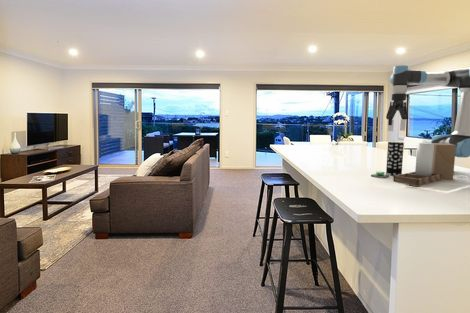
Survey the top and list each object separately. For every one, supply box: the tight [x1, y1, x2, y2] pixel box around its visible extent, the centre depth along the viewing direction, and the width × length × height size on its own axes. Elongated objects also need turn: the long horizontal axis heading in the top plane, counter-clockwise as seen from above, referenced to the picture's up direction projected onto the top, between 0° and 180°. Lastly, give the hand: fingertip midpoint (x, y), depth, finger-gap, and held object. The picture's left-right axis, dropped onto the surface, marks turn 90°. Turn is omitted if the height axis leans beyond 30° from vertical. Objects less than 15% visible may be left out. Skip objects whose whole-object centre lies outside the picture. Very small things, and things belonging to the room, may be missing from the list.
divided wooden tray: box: [392, 171, 442, 188], centre depth 189 cm, size 26×13×4 cm, turn 127°
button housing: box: [370, 173, 390, 179], centre depth 199 cm, size 7×7×2 cm
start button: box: [375, 170, 386, 175], centre depth 199 cm, size 4×4×3 cm
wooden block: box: [432, 143, 456, 181], centre depth 197 cm, size 10×10×20 cm
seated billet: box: [414, 142, 434, 176], centre depth 191 cm, size 8×8×20 cm
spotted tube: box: [385, 141, 405, 177], centre depth 205 cm, size 8×8×20 cm
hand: (396, 130), depth 203 cm, fingers open, 13 cm apart
